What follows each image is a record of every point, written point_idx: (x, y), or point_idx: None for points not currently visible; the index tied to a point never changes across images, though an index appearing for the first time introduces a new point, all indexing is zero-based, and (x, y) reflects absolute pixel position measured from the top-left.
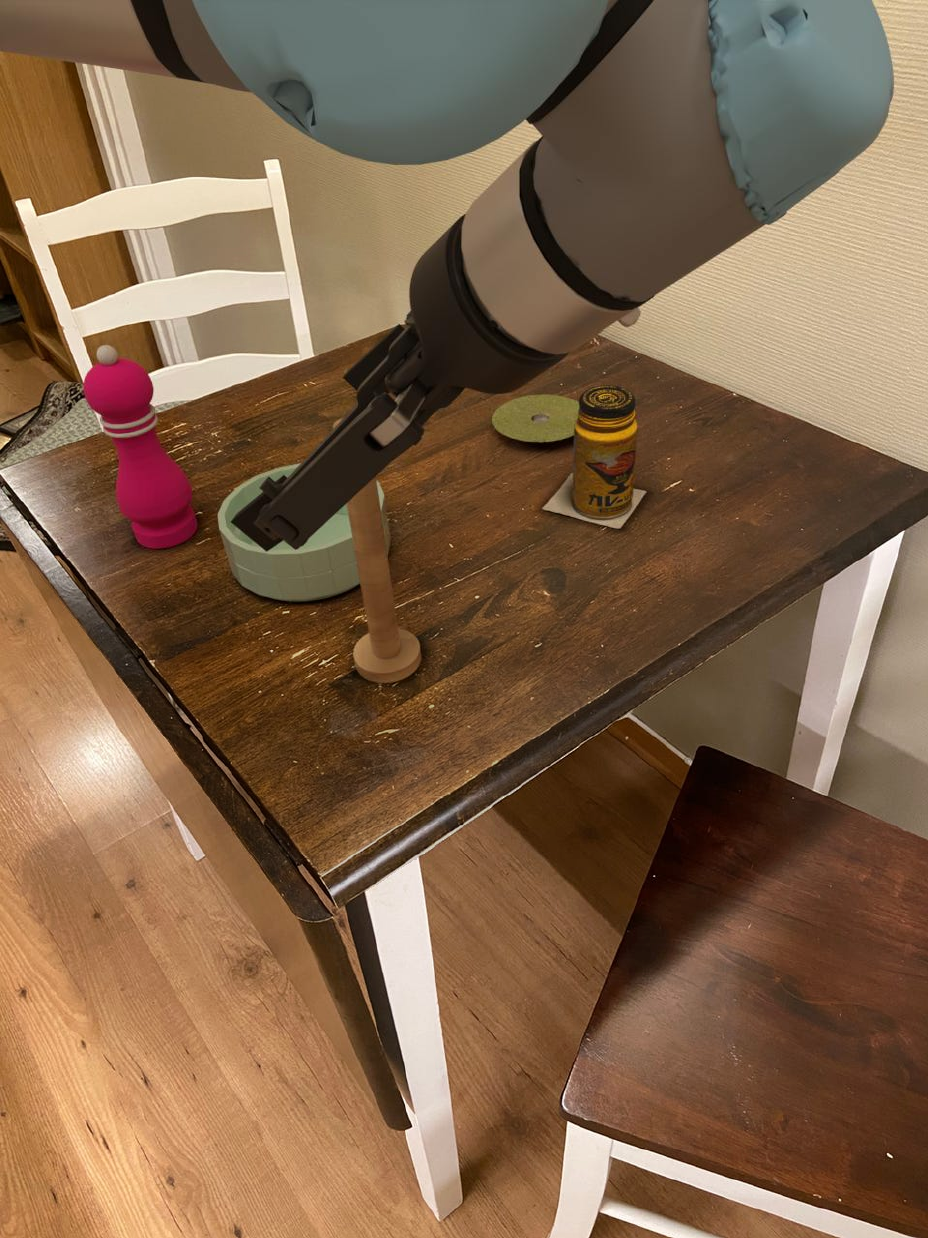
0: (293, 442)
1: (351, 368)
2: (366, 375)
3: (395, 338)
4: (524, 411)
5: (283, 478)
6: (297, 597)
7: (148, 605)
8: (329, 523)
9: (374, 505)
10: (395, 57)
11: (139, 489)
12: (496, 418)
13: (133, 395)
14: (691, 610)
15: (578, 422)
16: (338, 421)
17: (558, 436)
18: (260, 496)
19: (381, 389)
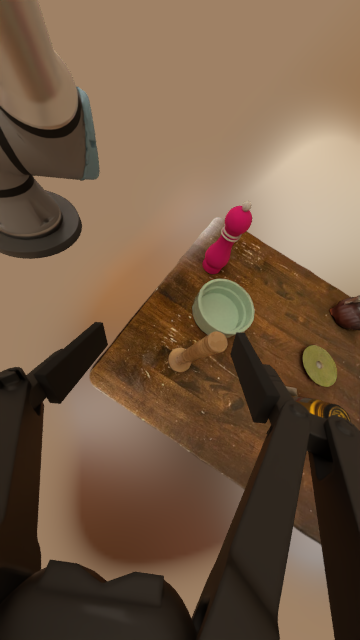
0: (266, 282)
1: (243, 337)
2: (239, 352)
3: (262, 393)
4: (319, 356)
5: (42, 376)
6: (194, 318)
7: (179, 276)
8: (232, 312)
9: (197, 357)
10: None
11: (212, 251)
12: (310, 347)
13: (235, 227)
14: (242, 472)
15: (317, 403)
16: (218, 333)
17: (312, 377)
18: (64, 349)
19: (236, 363)
